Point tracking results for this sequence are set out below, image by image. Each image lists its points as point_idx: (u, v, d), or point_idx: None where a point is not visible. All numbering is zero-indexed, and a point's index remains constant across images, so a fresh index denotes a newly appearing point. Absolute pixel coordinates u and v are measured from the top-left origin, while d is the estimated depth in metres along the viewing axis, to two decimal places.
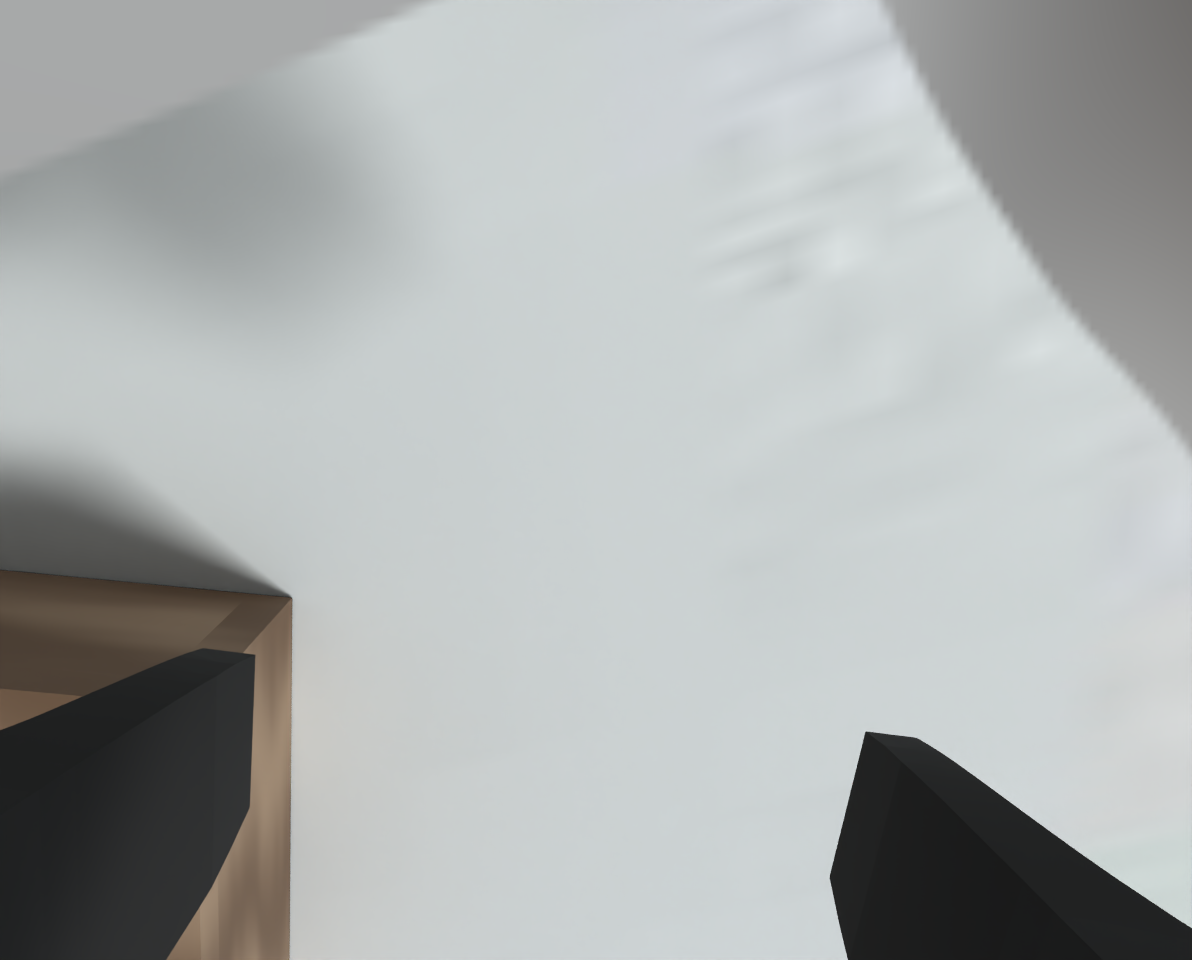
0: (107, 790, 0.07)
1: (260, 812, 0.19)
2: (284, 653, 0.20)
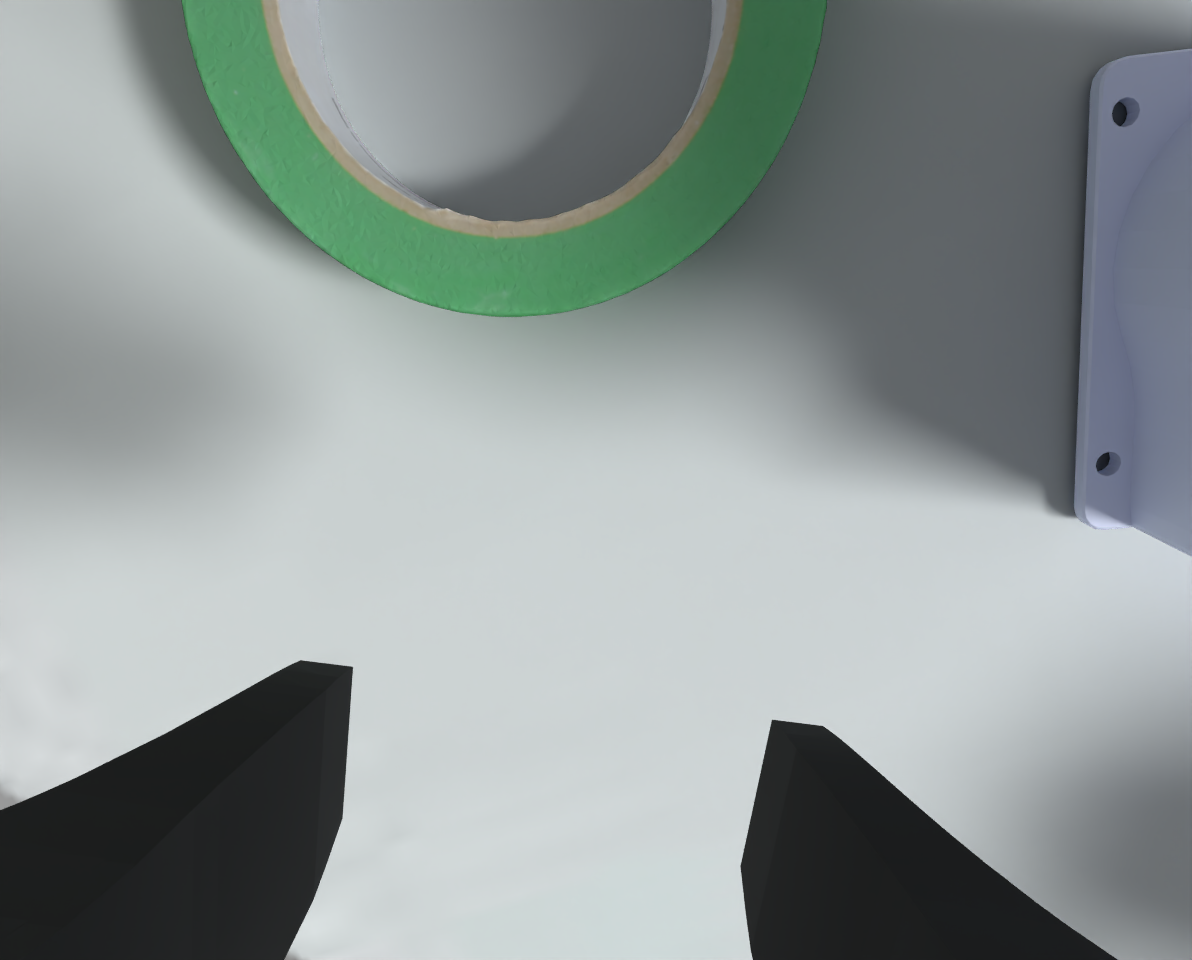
0: (241, 807, 0.07)
1: None
2: None
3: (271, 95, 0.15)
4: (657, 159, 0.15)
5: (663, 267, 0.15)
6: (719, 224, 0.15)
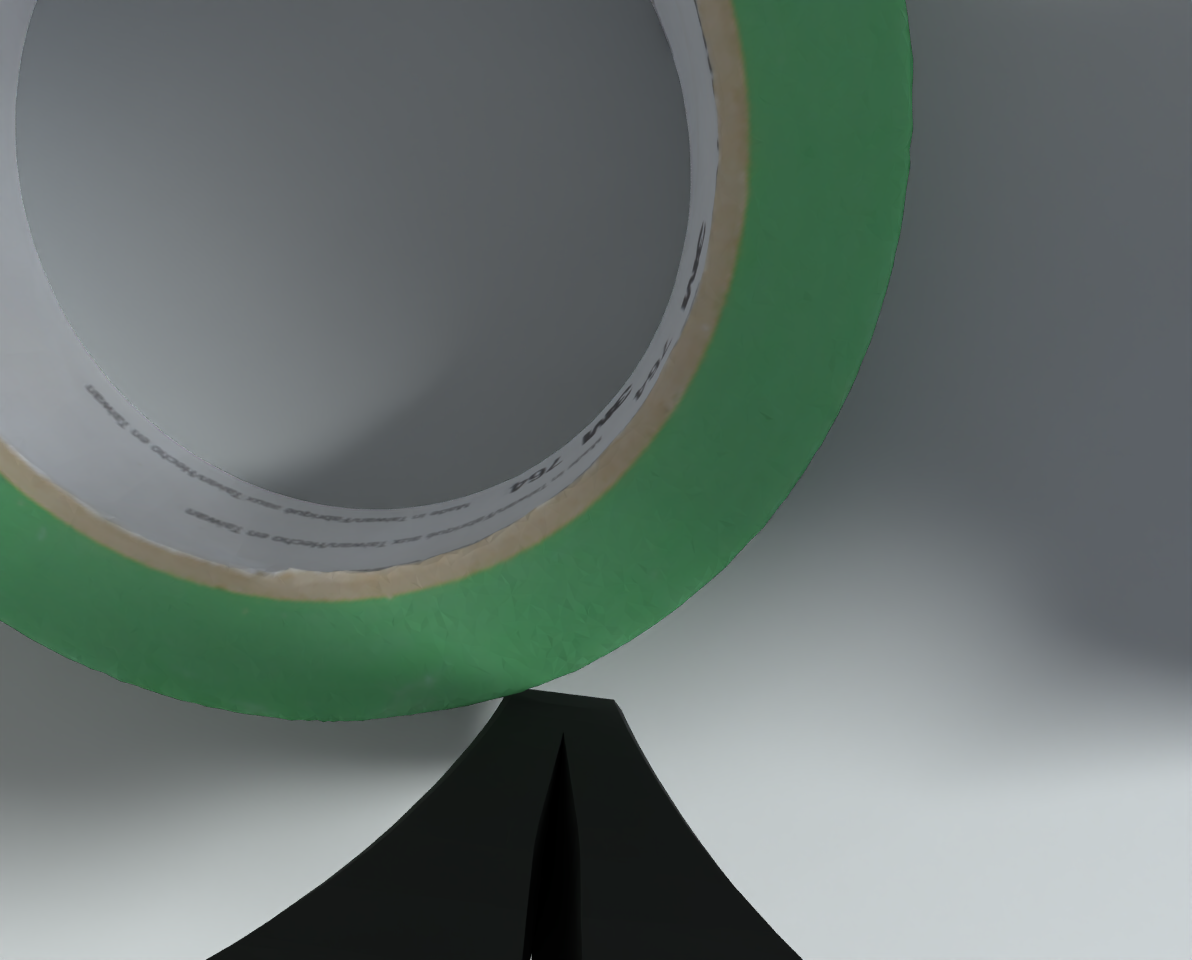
0: (538, 844, 0.07)
1: None
2: None
3: None
4: (646, 406, 0.08)
5: (698, 583, 0.08)
6: (785, 491, 0.08)
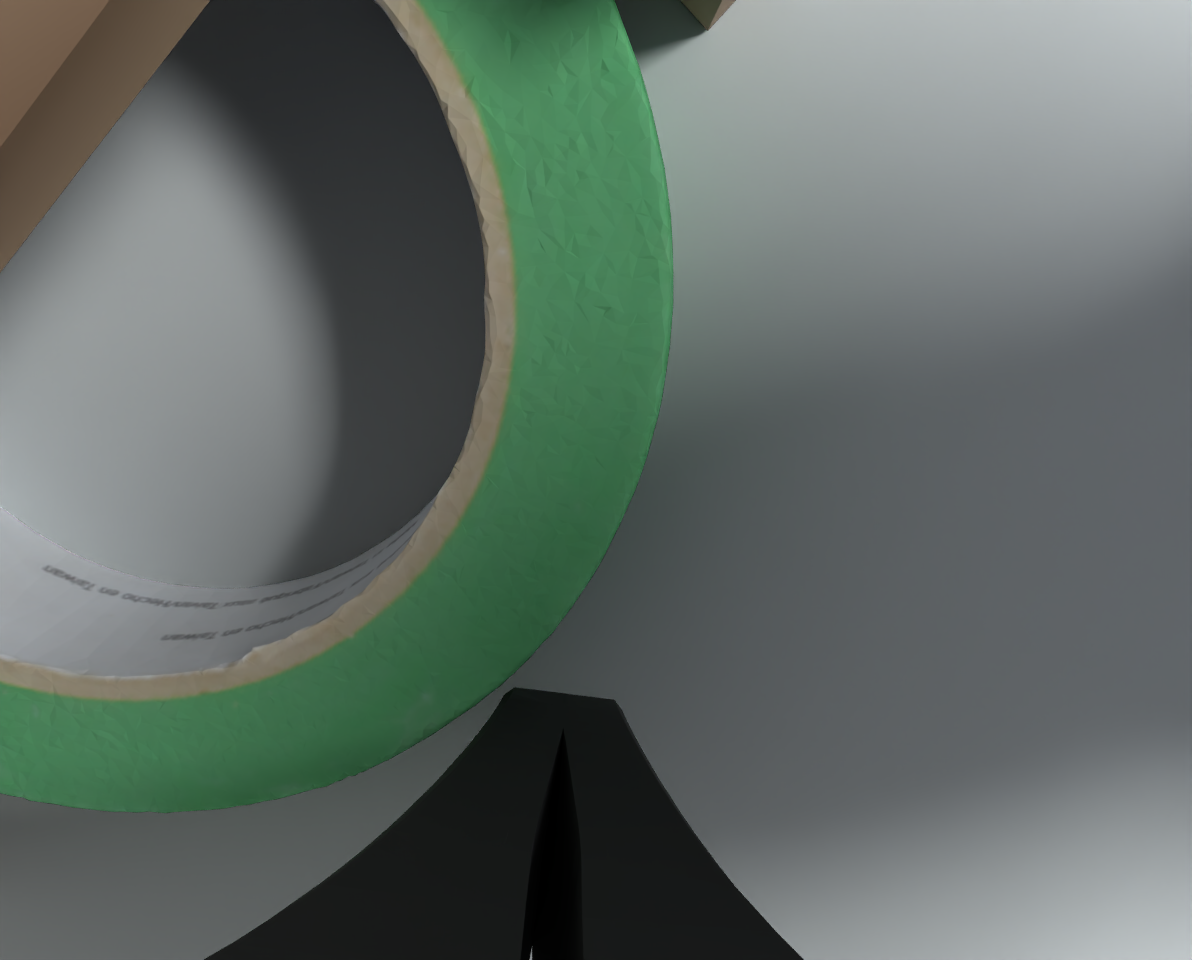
0: (537, 842, 0.07)
1: None
2: None
3: None
4: (487, 352, 0.08)
5: (623, 496, 0.08)
6: (659, 370, 0.08)
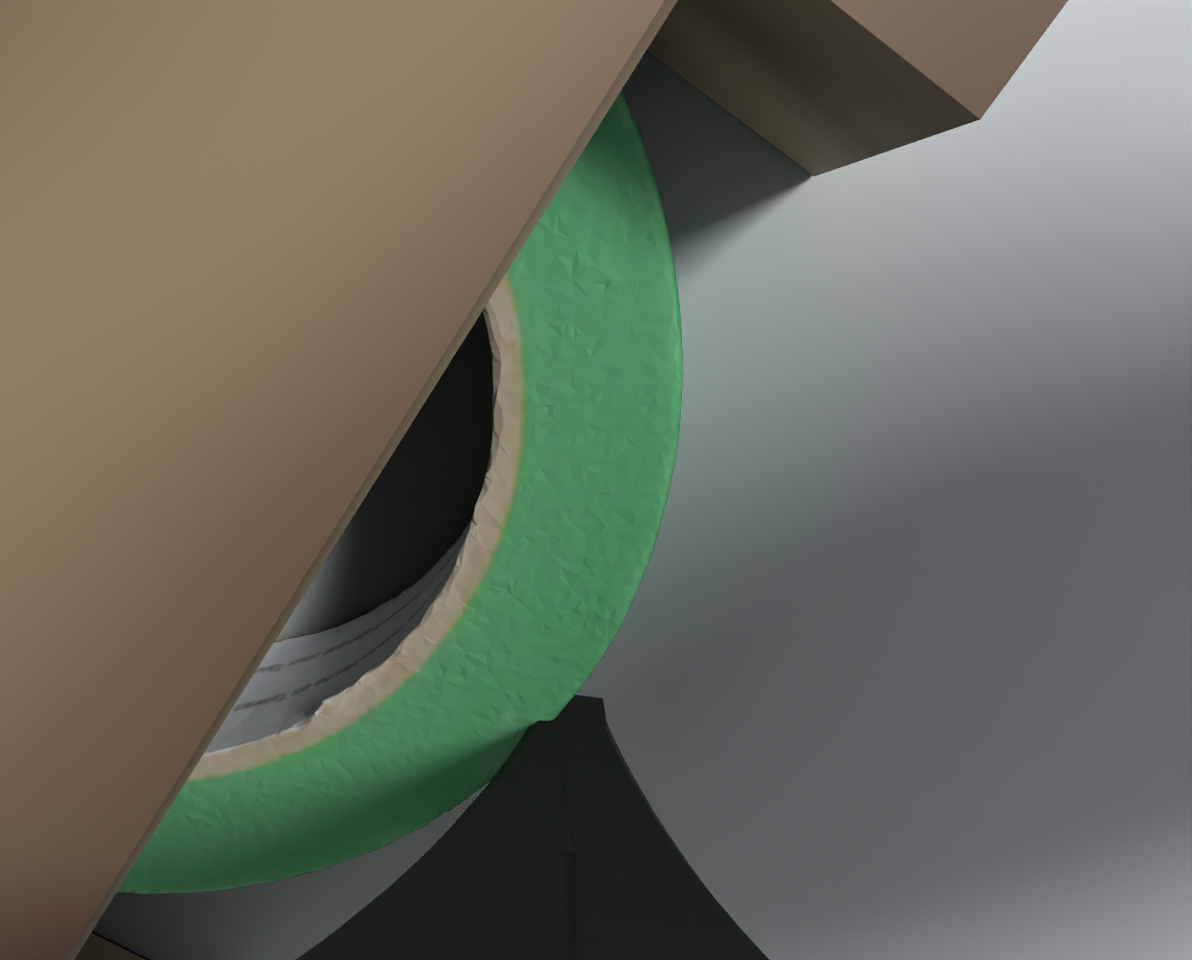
0: None
1: None
2: None
3: None
4: (494, 354, 0.07)
5: (664, 472, 0.08)
6: (674, 334, 0.07)
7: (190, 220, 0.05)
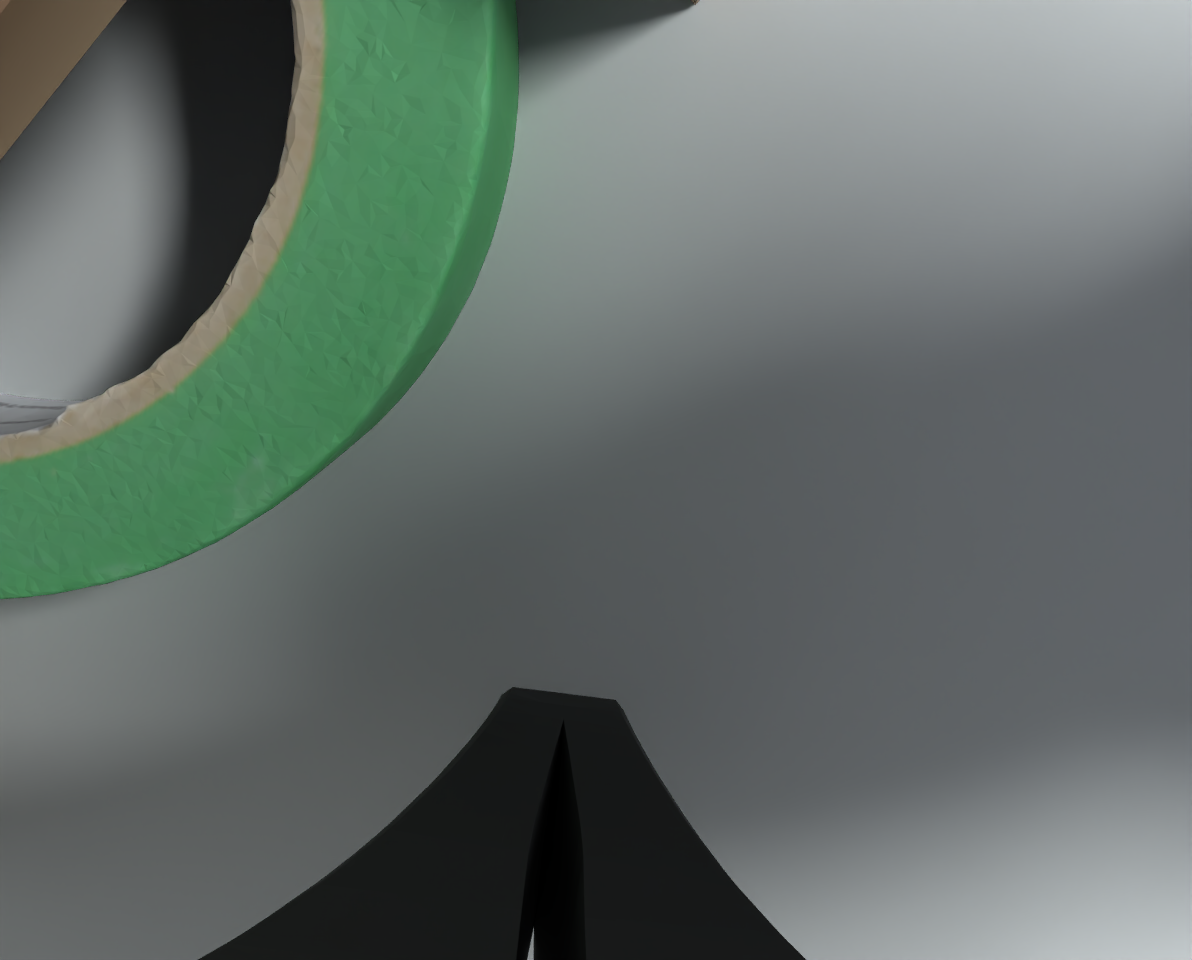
0: (535, 842, 0.07)
1: None
2: None
3: None
4: (296, 56, 0.07)
5: (453, 224, 0.07)
6: (483, 76, 0.07)
7: None
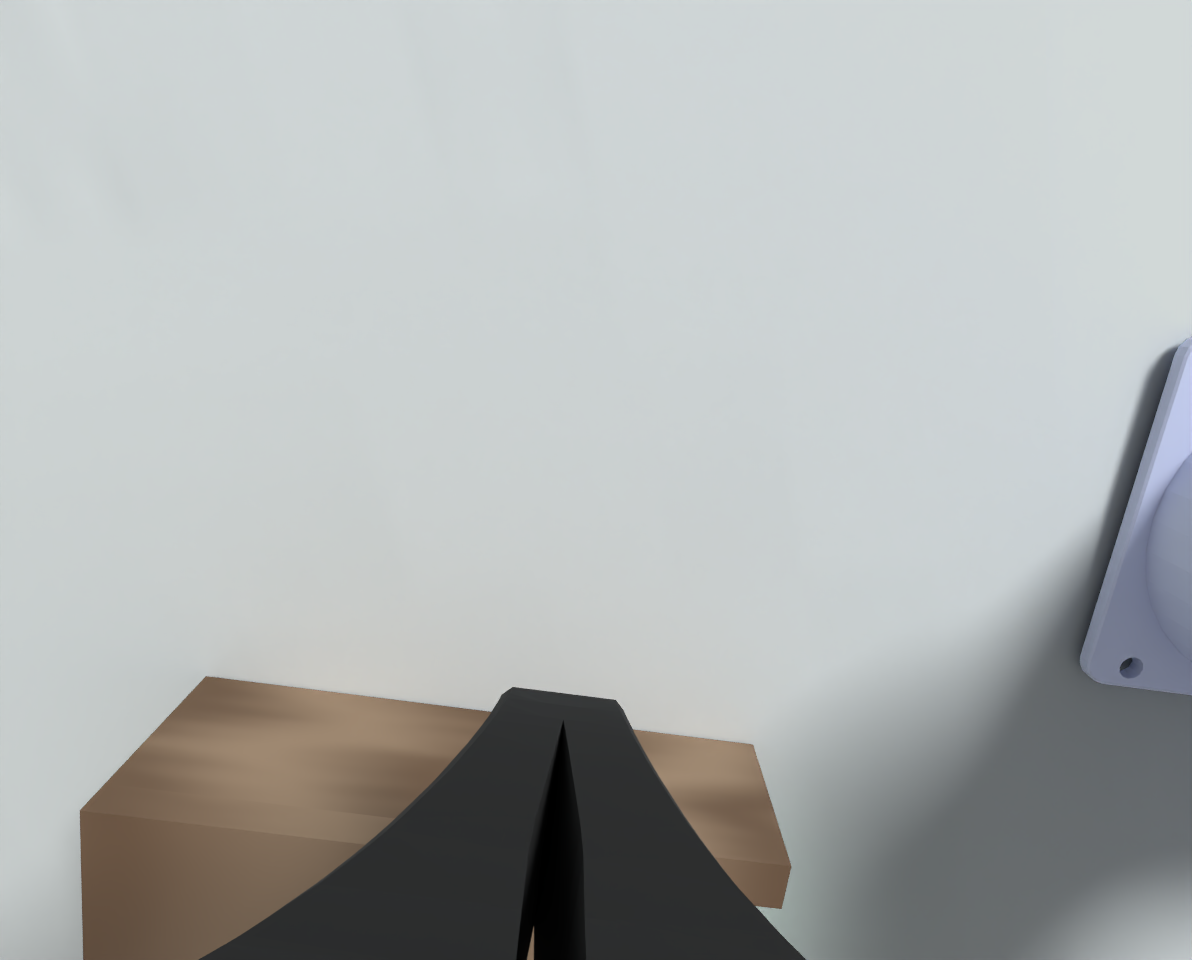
0: (534, 842, 0.07)
1: (372, 747, 0.18)
2: (249, 693, 0.19)
3: None
4: None
5: None
6: None
7: None
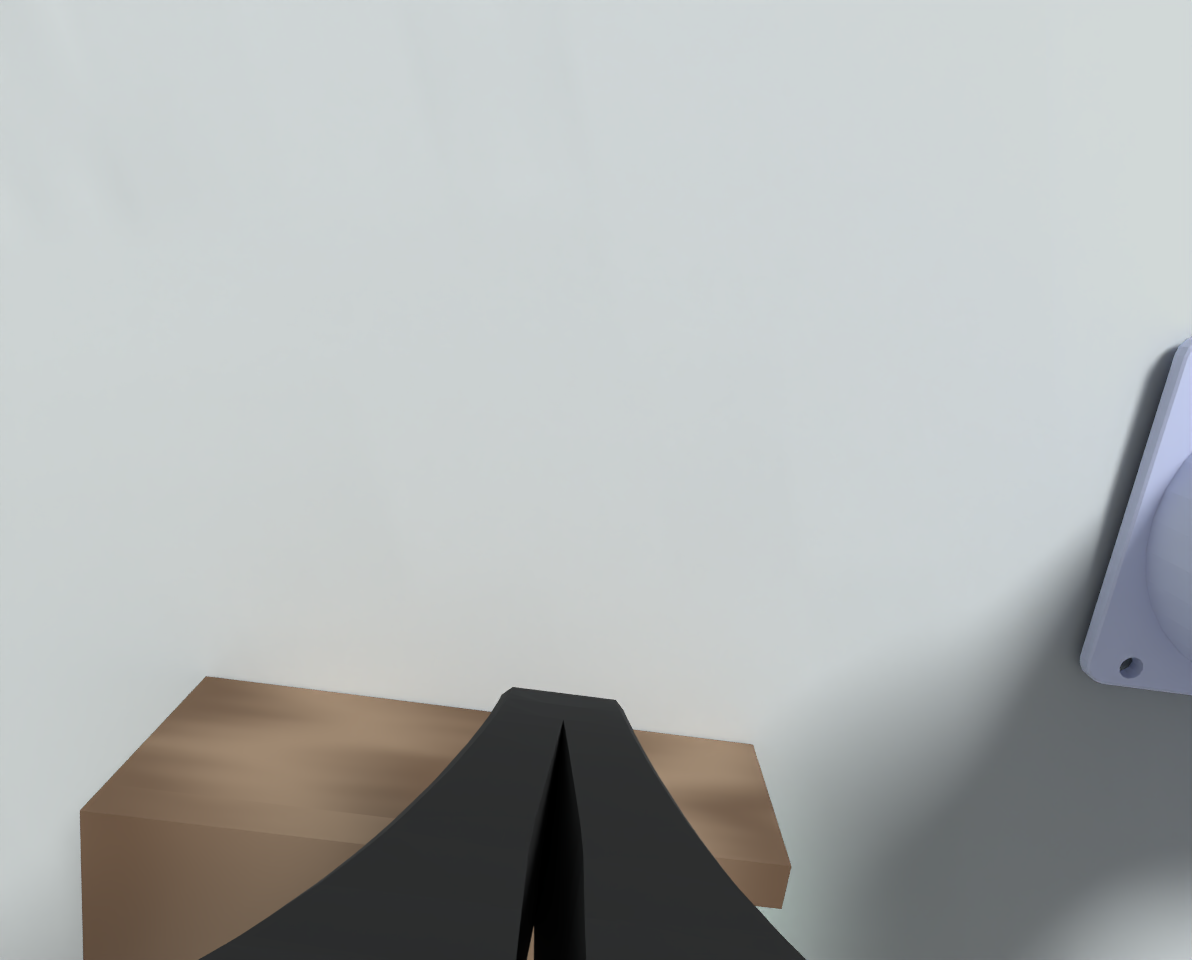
0: (534, 842, 0.07)
1: (372, 747, 0.18)
2: (249, 693, 0.19)
3: None
4: None
5: None
6: None
7: None
